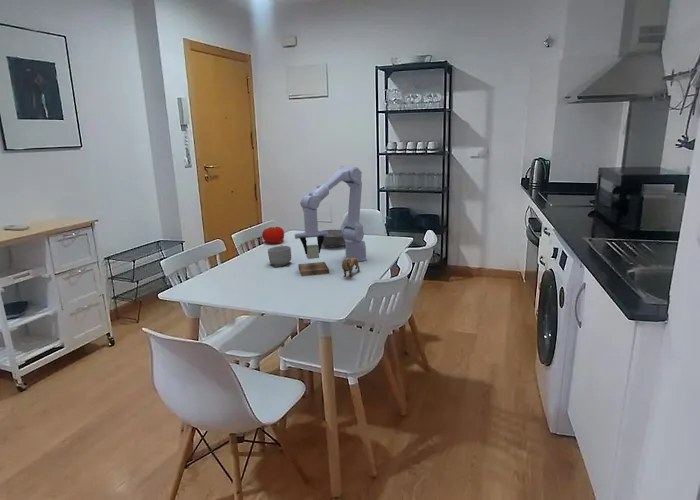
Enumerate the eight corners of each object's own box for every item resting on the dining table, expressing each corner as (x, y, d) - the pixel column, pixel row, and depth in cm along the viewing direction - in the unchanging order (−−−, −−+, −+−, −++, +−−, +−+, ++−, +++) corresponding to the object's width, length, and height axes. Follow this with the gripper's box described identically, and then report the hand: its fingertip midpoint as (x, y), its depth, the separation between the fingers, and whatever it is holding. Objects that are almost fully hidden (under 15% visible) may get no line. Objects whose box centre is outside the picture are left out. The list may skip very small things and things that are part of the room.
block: (317, 255, 206) (316, 244, 205) (319, 258, 201) (318, 246, 200) (306, 256, 205) (305, 245, 204) (307, 259, 200) (307, 247, 199)
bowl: (356, 244, 249) (356, 230, 247) (338, 252, 235) (338, 236, 233) (329, 241, 259) (329, 227, 257) (310, 248, 244) (310, 233, 242)
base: (324, 265, 211) (324, 261, 211) (329, 273, 200) (329, 269, 200) (298, 268, 209) (298, 264, 209) (301, 276, 198) (301, 271, 197)
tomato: (266, 239, 267) (265, 225, 265) (287, 239, 265) (286, 224, 263) (259, 245, 254) (257, 230, 252) (281, 245, 252) (280, 230, 250)
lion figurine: (352, 280, 190) (351, 259, 188) (340, 279, 191) (339, 259, 189) (361, 270, 204) (360, 250, 201) (349, 269, 205) (349, 250, 203)
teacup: (287, 268, 210) (286, 251, 208) (265, 267, 213) (263, 250, 211) (296, 259, 224) (295, 243, 222) (275, 259, 226) (274, 243, 224)
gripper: (325, 220, 204) (327, 249, 208) (293, 222, 201) (295, 252, 205) (328, 223, 198) (330, 253, 201) (294, 225, 195) (296, 256, 198)
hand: (312, 253), depth 203 cm, fingers closed on block, 5 cm apart
